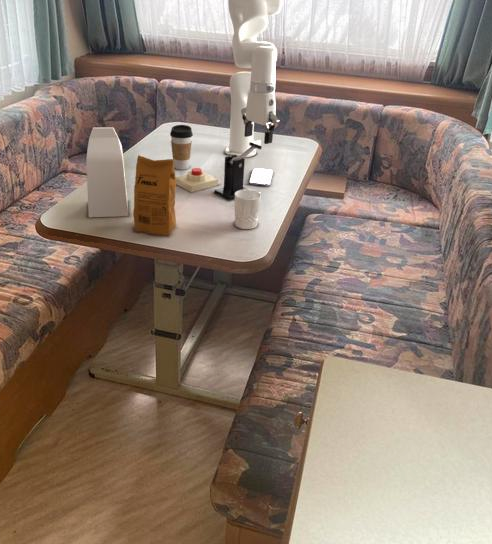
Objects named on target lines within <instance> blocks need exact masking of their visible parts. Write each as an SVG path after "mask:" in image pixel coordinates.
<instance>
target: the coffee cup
mask: <svg viewBox="0 0 492 544" xmlns="http://www.w3.org/2000/svg"><path fill="white" fill-rule="evenodd" d="M170 129H171V130H170V132H169V136H170V145H171V154H172V159H173V160H174V170H180V171H181V170H183V171H184V170H188V169H190V164H191V163H190V162H191V155H192V154H191V152H192V144H193V143H192V142H193V140H192V139H193V138H192V137H193V136H194V134H193V131H192V127H191V126H190V125H186V124H177V125H174V126H172V127H171V128H170Z"/></svg>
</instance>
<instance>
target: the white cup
mask: <svg viewBox="0 0 492 544" xmlns="http://www.w3.org/2000/svg"><path fill="white" fill-rule="evenodd" d="M261 199H262V193H261V192H260V191H258V190H254V189H250V188H249V189H248V188H247V189H244V190H239V191H236V192H235V199H234V224H235V227H237V228H239V229H242V230H252V229H255V228H256V227H257V226H258V220H259V216H260V214H259V213H260V208H261V201H262V200H261Z"/></svg>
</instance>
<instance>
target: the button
mask: <svg viewBox="0 0 492 544" xmlns="http://www.w3.org/2000/svg"><path fill="white" fill-rule="evenodd" d="M191 171H192V172H191V174H192V175H195V176H199V175H202V171H203V170H202V168H200V167H193V168H191Z"/></svg>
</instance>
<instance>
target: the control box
mask: <svg viewBox="0 0 492 544" xmlns="http://www.w3.org/2000/svg"><path fill="white" fill-rule="evenodd" d="M191 172H192V170H189V171H187V173H186V174H183V175H179V176H175V179H176V185H177V186H179V187H181V188H182V189H184V190H187V191H189V192H190V193H195V192H198V191H202V190H206V189H208V188H212V187H216V186H218V185H219V178H217V177H215V176H213V175H212V174H209V173H207V172H206V171H204V170H202V175H199V176H195V175H192V174H191Z"/></svg>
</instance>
